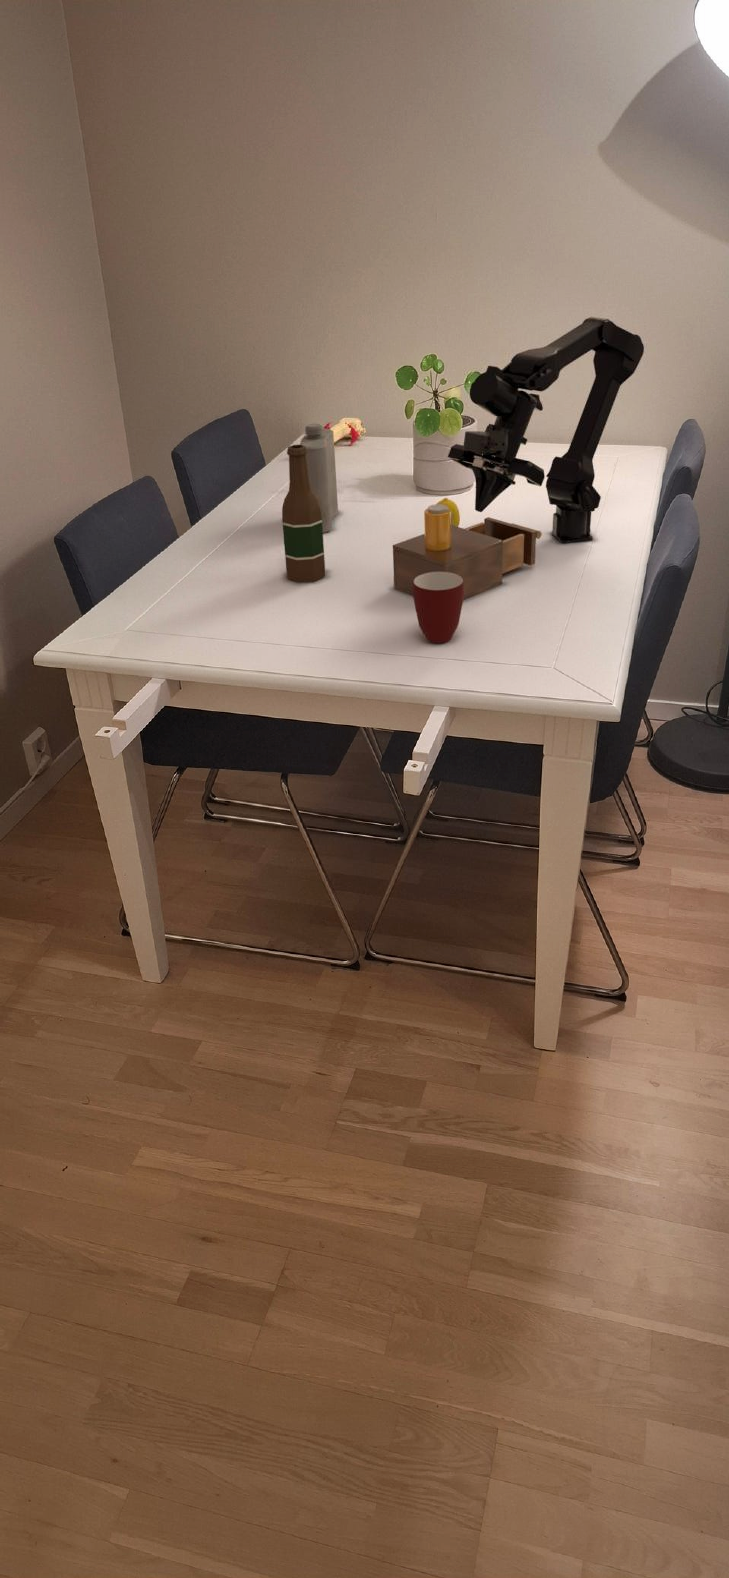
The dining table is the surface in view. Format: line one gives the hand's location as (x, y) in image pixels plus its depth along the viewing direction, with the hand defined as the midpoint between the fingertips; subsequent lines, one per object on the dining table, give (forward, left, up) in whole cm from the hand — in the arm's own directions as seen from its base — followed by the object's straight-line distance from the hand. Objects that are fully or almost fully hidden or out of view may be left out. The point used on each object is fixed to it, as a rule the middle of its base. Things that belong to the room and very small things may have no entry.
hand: (478, 511), depth 196 cm
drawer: (-4, -2, -11) cm, 12 cm away
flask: (+24, -38, -12) cm, 47 cm away
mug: (+13, +25, -12) cm, 30 cm away
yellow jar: (+9, +5, -4) cm, 11 cm away
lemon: (+1, -21, -12) cm, 25 cm away
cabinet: (+7, +4, -12) cm, 14 cm away
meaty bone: (+12, -97, -12) cm, 98 cm away
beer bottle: (+31, -8, -12) cm, 34 cm away
